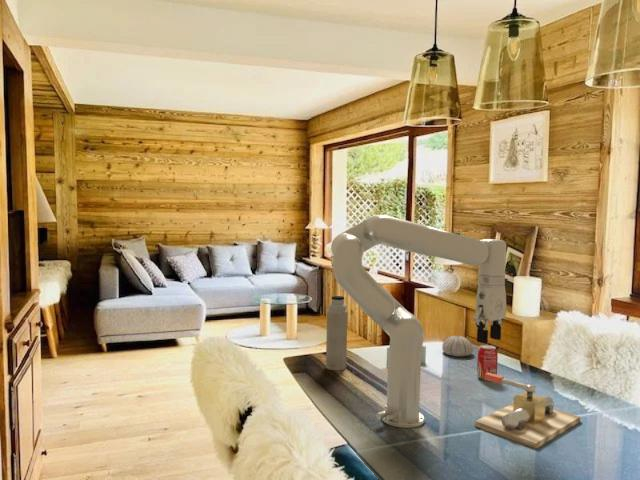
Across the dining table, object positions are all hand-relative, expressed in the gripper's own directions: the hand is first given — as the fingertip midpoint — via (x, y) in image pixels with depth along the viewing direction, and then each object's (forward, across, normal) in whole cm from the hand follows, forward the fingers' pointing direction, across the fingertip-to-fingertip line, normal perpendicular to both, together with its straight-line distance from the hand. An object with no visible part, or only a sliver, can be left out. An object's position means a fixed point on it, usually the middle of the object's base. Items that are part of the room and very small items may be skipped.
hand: (488, 340), depth 151 cm
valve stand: (+24, +6, -10) cm, 27 cm away
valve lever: (+14, +7, -4) cm, 16 cm away
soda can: (+24, +34, +20) cm, 46 cm away
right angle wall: (+24, +25, +50) cm, 61 cm away
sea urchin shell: (+24, +54, +46) cm, 75 cm away
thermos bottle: (+24, -2, +64) cm, 68 cm away
